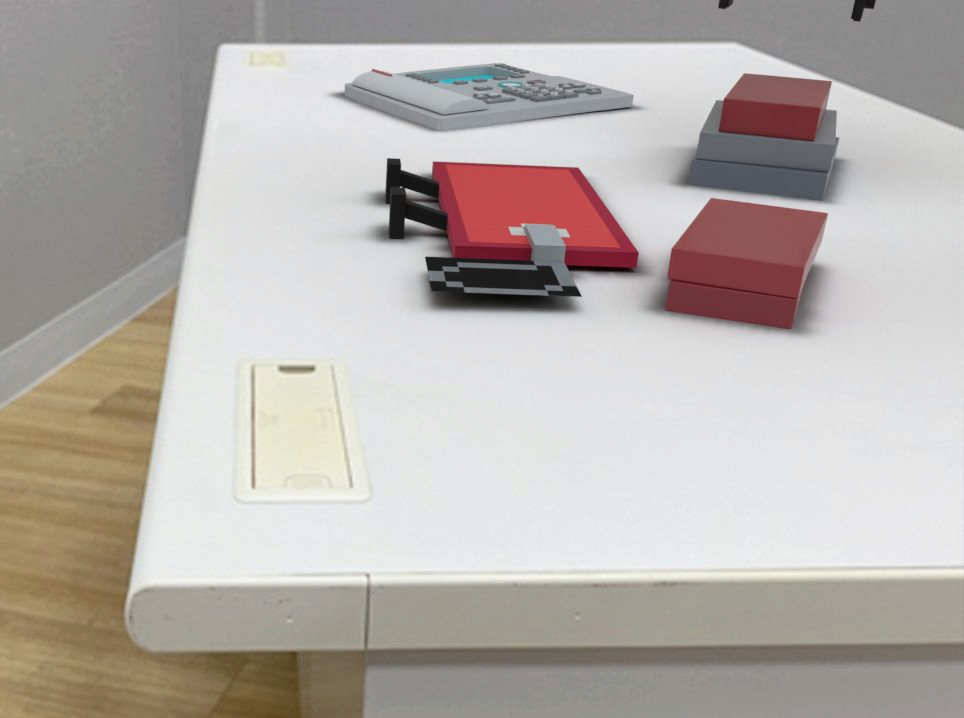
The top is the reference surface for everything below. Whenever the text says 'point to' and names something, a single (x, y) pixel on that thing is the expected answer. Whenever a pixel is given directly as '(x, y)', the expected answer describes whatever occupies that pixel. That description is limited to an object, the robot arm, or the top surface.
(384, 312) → the top surface
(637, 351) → the top surface
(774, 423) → the top surface
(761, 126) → the burgundy book
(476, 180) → the red board with handle
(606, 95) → the office telephone
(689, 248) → the burgundy books
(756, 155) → the grey books
